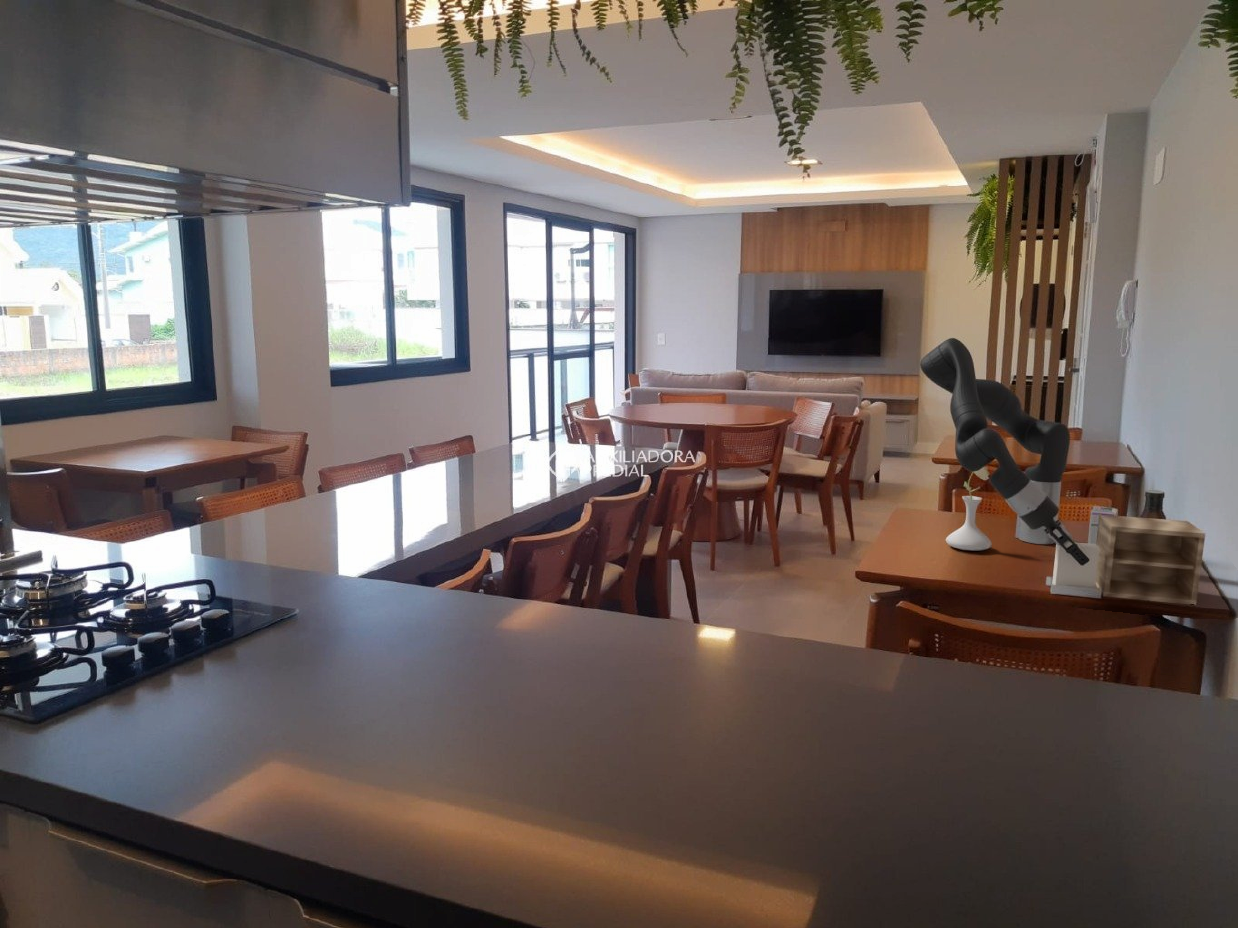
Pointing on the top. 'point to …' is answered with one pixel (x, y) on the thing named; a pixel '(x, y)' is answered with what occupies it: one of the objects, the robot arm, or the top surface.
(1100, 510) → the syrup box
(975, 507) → the flower in vase
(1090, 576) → the white rectangular block
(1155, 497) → the sauce bottle
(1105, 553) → the carcass
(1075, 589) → the grey slotted stand
